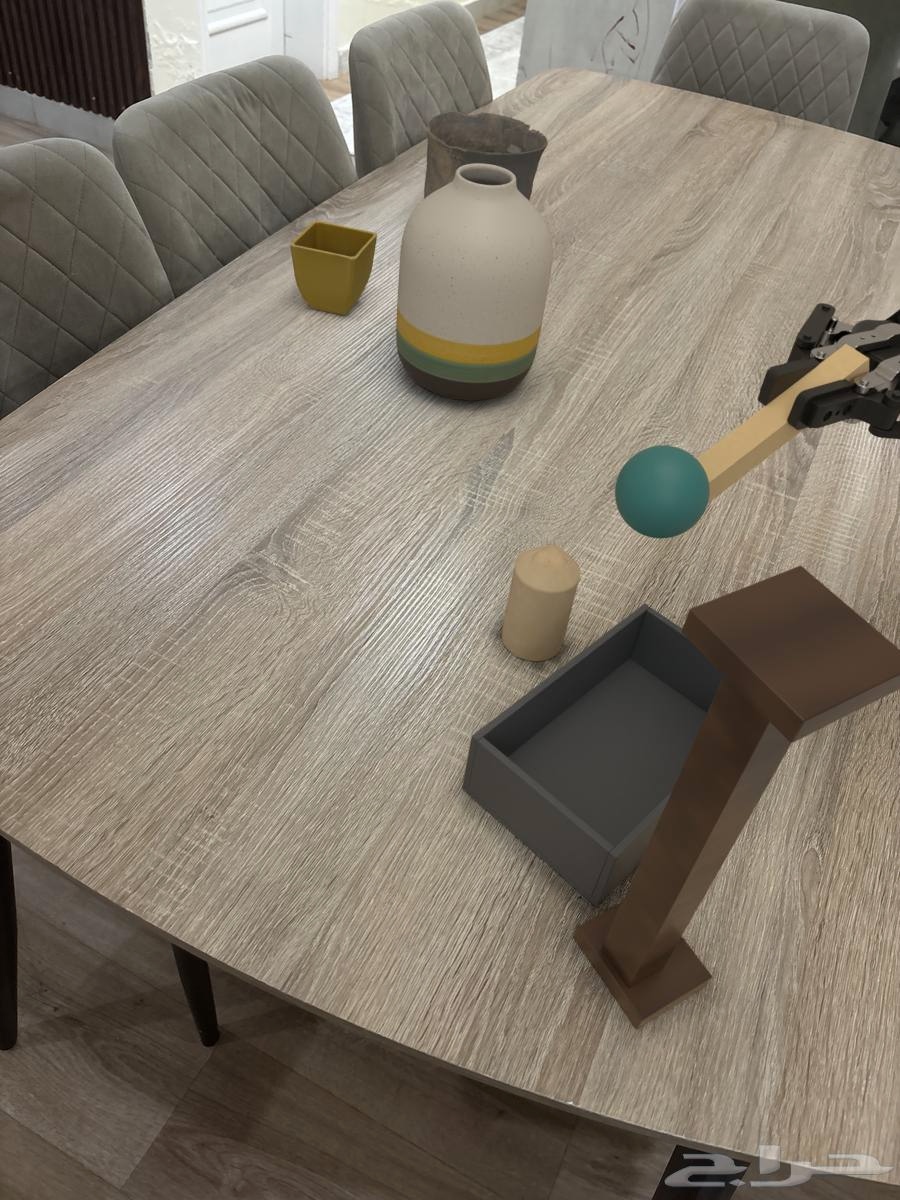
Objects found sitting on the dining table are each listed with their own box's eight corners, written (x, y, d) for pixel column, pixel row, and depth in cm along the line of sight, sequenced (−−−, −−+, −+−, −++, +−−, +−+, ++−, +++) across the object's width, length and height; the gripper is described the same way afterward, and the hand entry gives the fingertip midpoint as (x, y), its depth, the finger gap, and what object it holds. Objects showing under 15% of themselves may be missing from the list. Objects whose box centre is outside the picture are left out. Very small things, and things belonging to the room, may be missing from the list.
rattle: (892, 394, 54) (895, 330, 49) (662, 571, 53) (645, 522, 49) (825, 350, 57) (822, 286, 52) (607, 518, 56) (587, 467, 52)
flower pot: (315, 283, 129) (314, 218, 122) (375, 297, 127) (378, 232, 121) (290, 311, 122) (288, 244, 116) (353, 326, 121) (355, 258, 115)
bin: (754, 746, 77) (781, 694, 73) (596, 907, 66) (616, 858, 61) (627, 655, 83) (644, 602, 79) (461, 788, 72) (471, 735, 67)
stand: (706, 986, 62) (919, 664, 40) (624, 1037, 59) (804, 721, 37) (641, 899, 66) (801, 564, 44) (560, 943, 63) (689, 608, 41)
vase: (365, 364, 115) (372, 160, 98) (467, 328, 123) (490, 136, 107) (456, 431, 106) (481, 219, 90) (559, 387, 115) (599, 188, 98)
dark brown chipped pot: (541, 223, 151) (557, 123, 141) (522, 268, 138) (538, 162, 128) (434, 203, 153) (442, 103, 142) (405, 245, 140) (412, 139, 130)
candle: (515, 609, 86) (532, 525, 79) (571, 631, 85) (593, 548, 78) (491, 647, 83) (506, 562, 76) (549, 671, 81) (569, 587, 74)
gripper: (915, 243, 62) (718, 284, 54) (1105, 343, 53) (905, 407, 46) (868, 346, 67) (684, 396, 60) (1036, 451, 59) (846, 524, 52)
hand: (782, 401), depth 53 cm, fingers closed on rattle
